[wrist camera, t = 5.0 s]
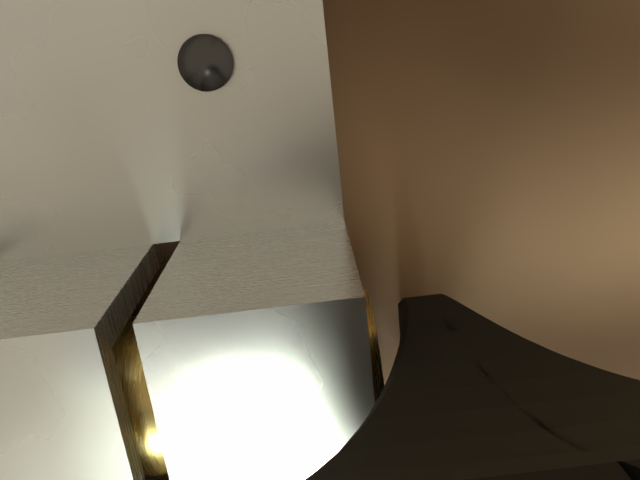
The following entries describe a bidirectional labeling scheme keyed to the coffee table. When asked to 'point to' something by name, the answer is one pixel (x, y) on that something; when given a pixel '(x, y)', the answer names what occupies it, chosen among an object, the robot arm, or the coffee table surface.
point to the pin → (141, 403)
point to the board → (493, 165)
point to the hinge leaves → (174, 240)
